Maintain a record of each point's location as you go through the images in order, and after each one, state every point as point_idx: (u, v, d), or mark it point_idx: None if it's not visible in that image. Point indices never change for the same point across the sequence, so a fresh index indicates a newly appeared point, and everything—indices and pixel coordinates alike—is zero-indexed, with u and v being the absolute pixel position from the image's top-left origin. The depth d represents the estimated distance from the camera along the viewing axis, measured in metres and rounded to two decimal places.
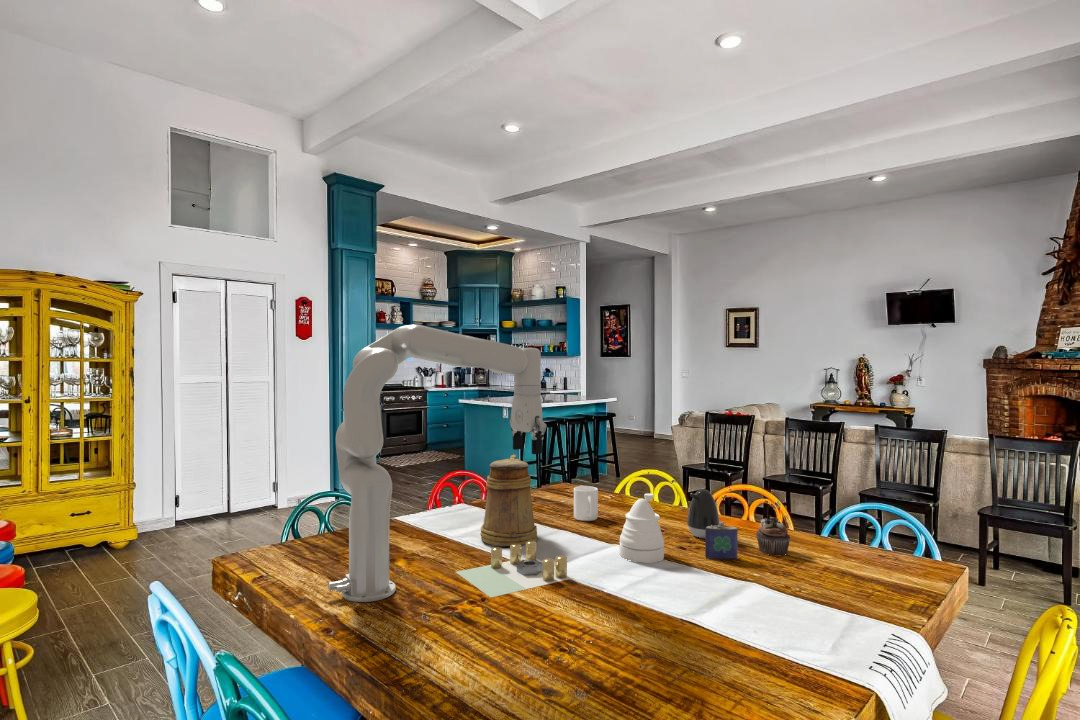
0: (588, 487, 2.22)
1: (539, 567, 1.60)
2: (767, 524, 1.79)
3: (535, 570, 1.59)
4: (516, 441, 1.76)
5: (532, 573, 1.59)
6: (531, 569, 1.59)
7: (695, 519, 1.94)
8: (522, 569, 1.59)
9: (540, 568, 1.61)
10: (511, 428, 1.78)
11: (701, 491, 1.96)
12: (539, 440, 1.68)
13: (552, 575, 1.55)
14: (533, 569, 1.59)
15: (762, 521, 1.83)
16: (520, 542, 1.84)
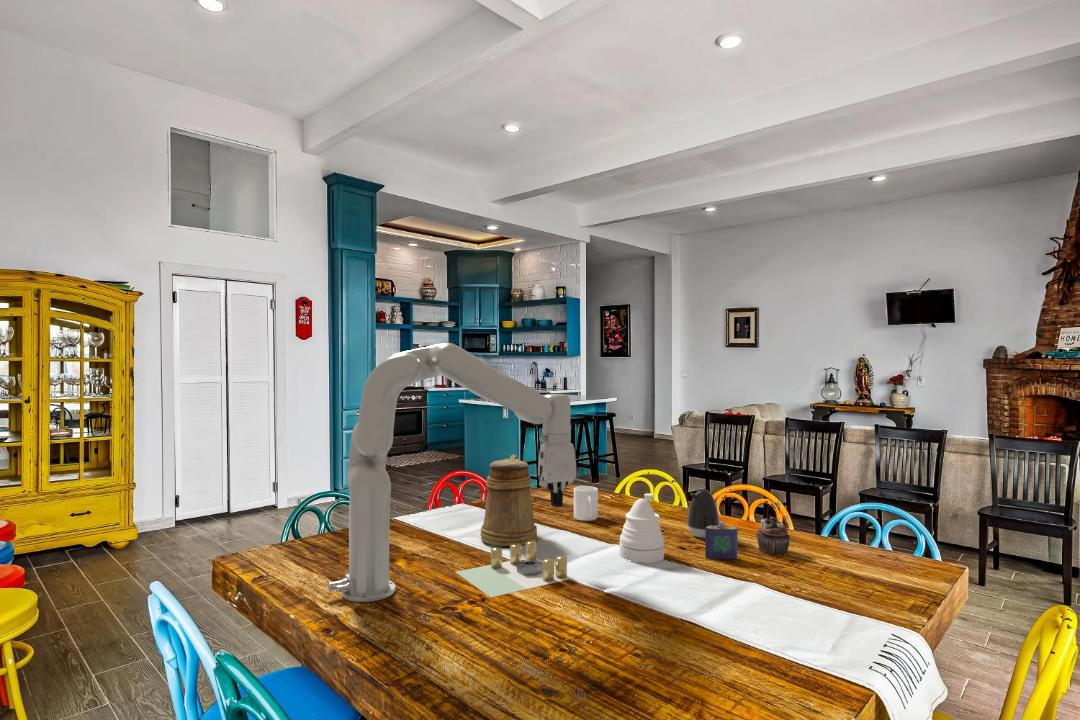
0: (588, 487, 2.22)
1: (539, 567, 1.60)
2: (767, 524, 1.79)
3: (535, 570, 1.59)
4: None
5: (532, 573, 1.59)
6: (531, 569, 1.59)
7: (695, 519, 1.94)
8: (522, 569, 1.59)
9: (540, 568, 1.61)
10: (550, 486, 1.64)
11: (701, 491, 1.96)
12: None
13: (552, 575, 1.55)
14: (533, 569, 1.59)
15: (762, 521, 1.83)
16: (520, 542, 1.84)
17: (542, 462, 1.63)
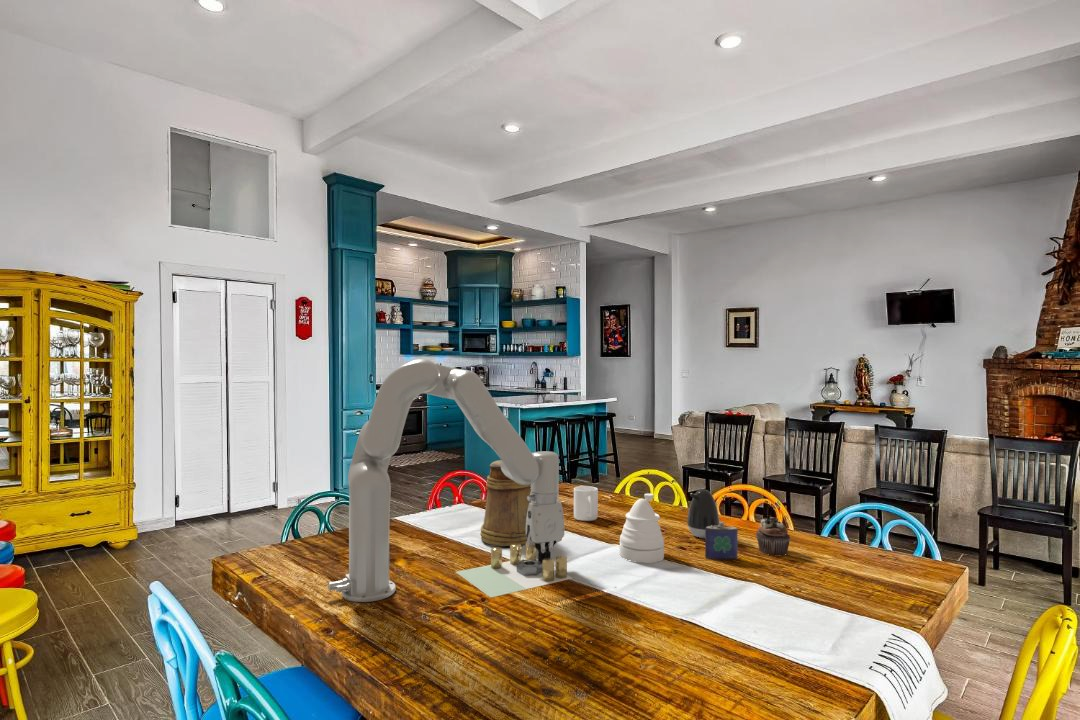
0: (588, 487, 2.22)
1: (538, 567, 1.60)
2: (767, 524, 1.79)
3: (535, 570, 1.59)
4: None
5: (532, 573, 1.59)
6: (530, 569, 1.59)
7: (695, 519, 1.94)
8: (522, 569, 1.59)
9: (540, 568, 1.61)
10: (537, 546, 1.62)
11: (701, 491, 1.96)
12: None
13: (552, 575, 1.55)
14: (533, 569, 1.59)
15: (762, 521, 1.83)
16: (520, 542, 1.84)
17: (530, 522, 1.61)
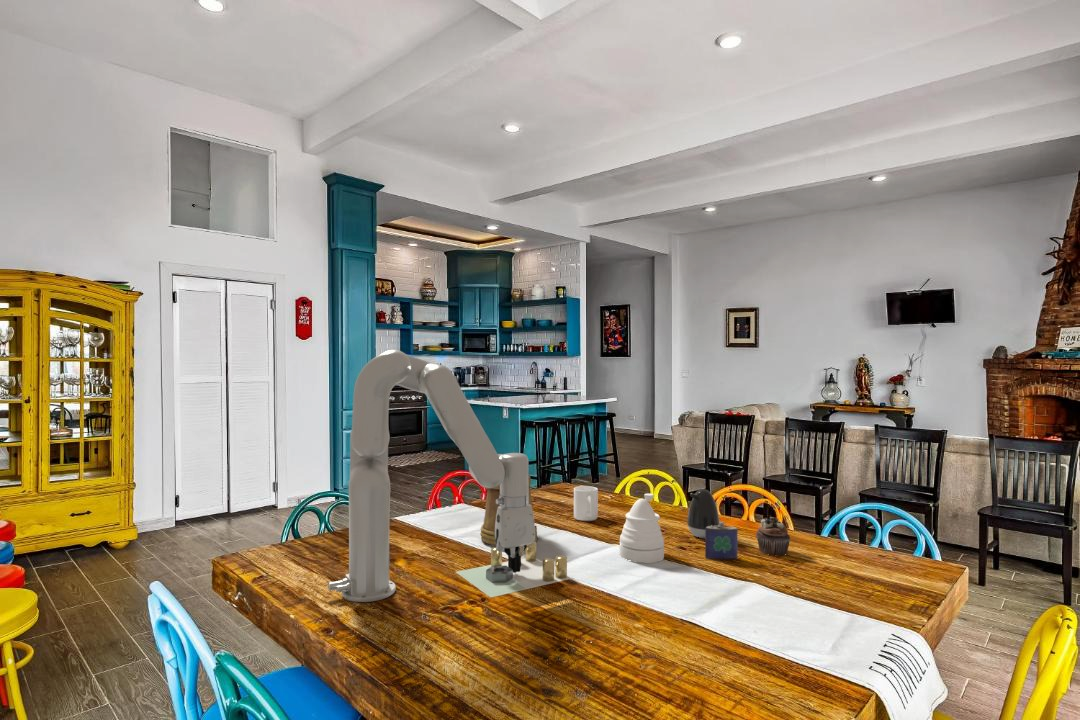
0: (588, 487, 2.22)
1: (508, 574, 1.55)
2: (767, 524, 1.79)
3: (504, 577, 1.54)
4: None
5: (501, 580, 1.54)
6: (500, 576, 1.54)
7: (695, 519, 1.94)
8: (491, 576, 1.54)
9: (510, 575, 1.56)
10: (507, 551, 1.57)
11: (701, 491, 1.96)
12: None
13: (552, 575, 1.55)
14: (502, 576, 1.54)
15: (762, 521, 1.83)
16: None
17: (499, 526, 1.56)
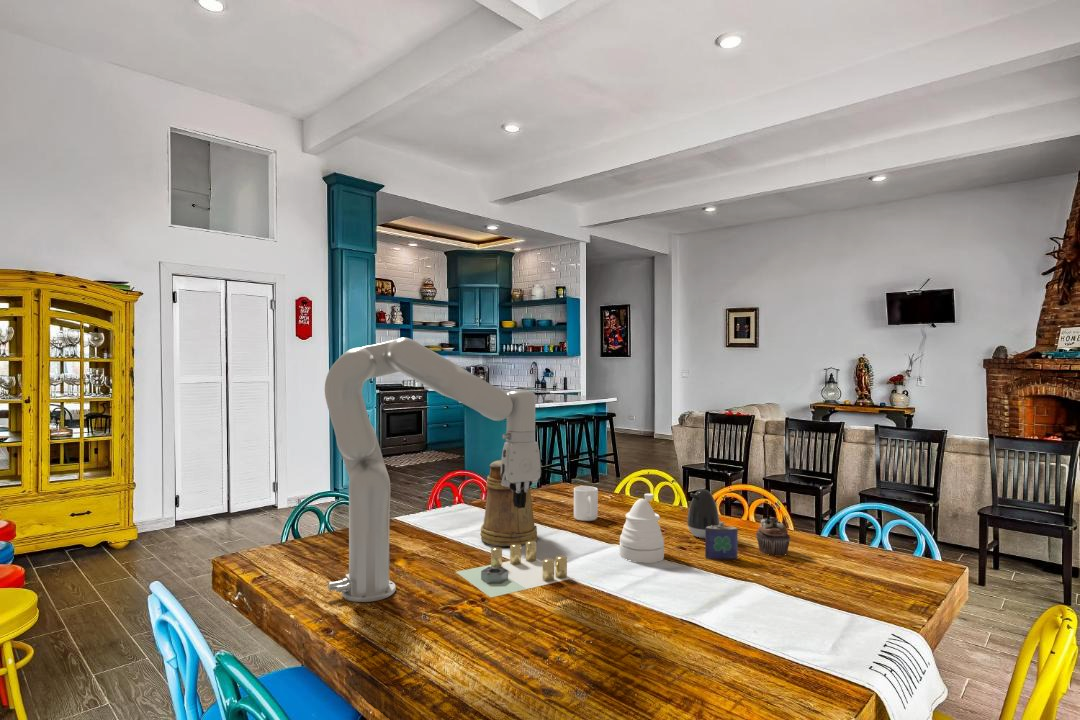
0: (588, 487, 2.22)
1: (504, 575, 1.54)
2: (767, 524, 1.79)
3: (500, 578, 1.53)
4: None
5: (496, 581, 1.53)
6: (495, 577, 1.53)
7: (695, 519, 1.94)
8: (486, 577, 1.53)
9: (505, 576, 1.55)
10: (512, 486, 1.58)
11: (701, 491, 1.96)
12: None
13: (552, 575, 1.55)
14: (497, 577, 1.53)
15: (762, 521, 1.83)
16: (520, 542, 1.84)
17: (505, 461, 1.57)
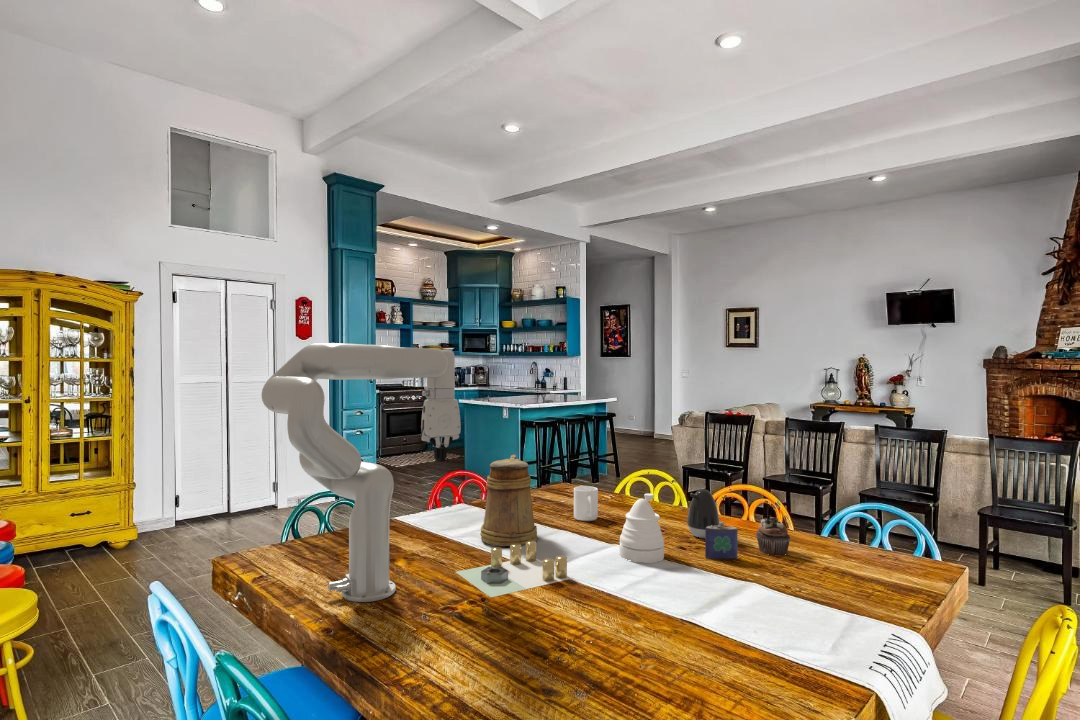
0: (588, 487, 2.22)
1: (504, 575, 1.54)
2: (767, 524, 1.79)
3: (500, 578, 1.53)
4: None
5: (496, 581, 1.53)
6: (495, 577, 1.53)
7: (695, 519, 1.94)
8: (486, 577, 1.53)
9: (505, 576, 1.55)
10: (432, 441, 1.65)
11: (701, 491, 1.96)
12: None
13: (552, 575, 1.55)
14: (497, 577, 1.53)
15: (762, 521, 1.83)
16: (520, 542, 1.84)
17: (424, 416, 1.64)
